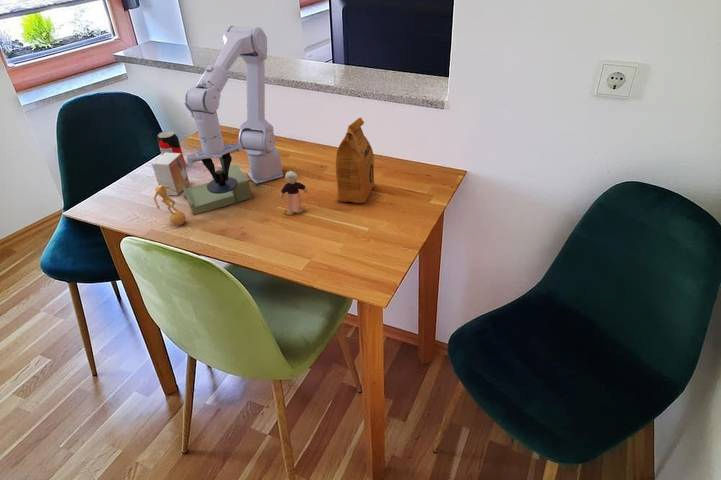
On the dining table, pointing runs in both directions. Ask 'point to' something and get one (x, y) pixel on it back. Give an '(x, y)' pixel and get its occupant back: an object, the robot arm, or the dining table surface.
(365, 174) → the coffee package
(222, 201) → the green step block
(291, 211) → the grandmother figurine
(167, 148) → the beverage can
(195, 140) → the dining table surface
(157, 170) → the small box
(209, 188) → the lid
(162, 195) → the figurine
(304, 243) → the dining table surface
